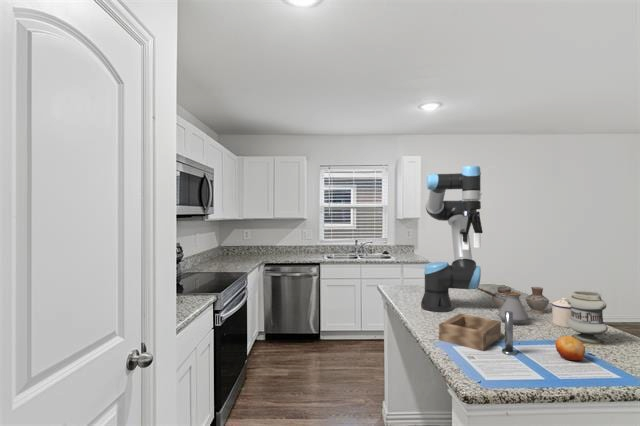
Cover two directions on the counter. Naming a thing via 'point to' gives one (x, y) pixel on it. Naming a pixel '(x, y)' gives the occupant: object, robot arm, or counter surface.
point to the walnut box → (470, 331)
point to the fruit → (570, 348)
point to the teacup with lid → (561, 313)
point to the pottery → (534, 300)
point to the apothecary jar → (587, 316)
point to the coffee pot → (511, 307)
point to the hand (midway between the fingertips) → (471, 248)
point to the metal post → (509, 334)
